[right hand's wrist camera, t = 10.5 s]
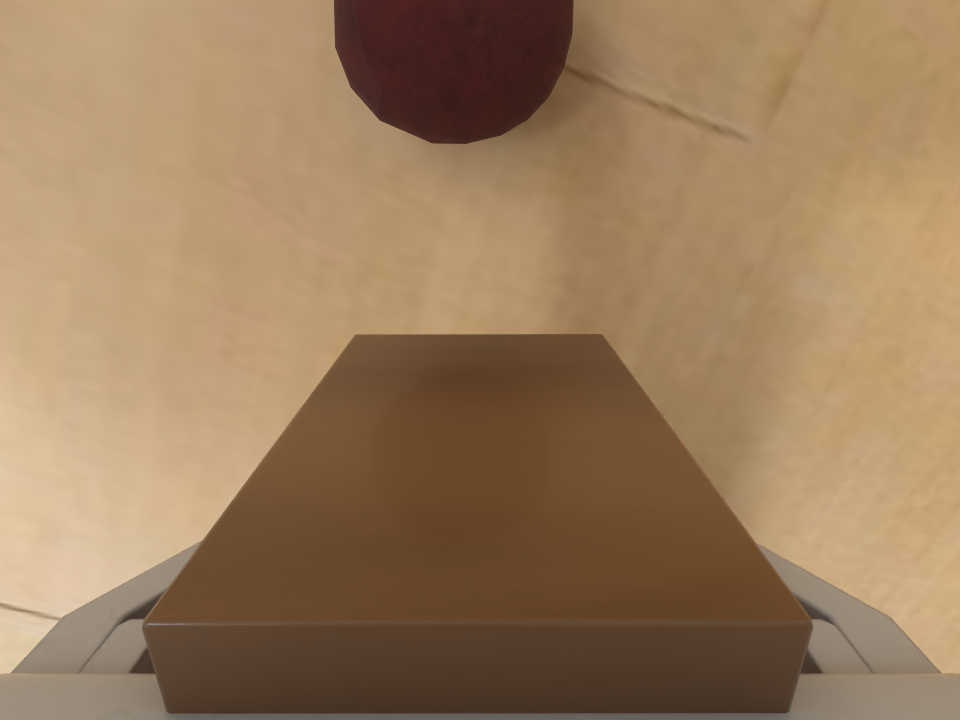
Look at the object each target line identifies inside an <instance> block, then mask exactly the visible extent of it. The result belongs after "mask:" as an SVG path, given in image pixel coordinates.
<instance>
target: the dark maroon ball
mask: <svg viewBox="0 0 960 720" xmlns="http://www.w3.org/2000/svg"><path fill="white" fill-rule="evenodd" d="M334 17H335V48H336V50H337V53H338V55H339V58H340V61H341V63H342V66H343V68H344V71H345V73H346V76H347V79H348V81H349V84H350V86H351V88H352V89H353V90H354V92H355V93H356V94H357V95H358V96H359V97H360V98H361V99H362V101H363V102H364V103H365V104H366V105H367V106H368V107H369V109H370V110H371V111H372V112H373V113H374V114H375V115H376V117H377V118H378V119H379V120H380V121H382V122H385V123H387V124H389V125H392V126H394V127H396V128H399V129H401V130H403V131H405V132H408V133H410V134H412V135H415V136H417V137H419V138H422V139H424V140H426V141H428V142H431V143H447V144H467V143H471V142H475V141H479V140H483V139H487V138H491V137H496V136H500V135H502V134H504V133H506V132H507V131H509V130H511V129H512V128H514V127H516V126H518V125H519V124H521V123H523V122H524V121H526V120H527V119H528V118H529V117H530V116H531V115H532V114H533V113H534V112H535V111H536V110H537V109H538V108H539V107H540V106H541V104H542V103H543V102H544V101H545V100H546V99H547V98H548V97H549V95H550V93H551V91H552V89H553V87H554V86H555V84H556V82H557V80H558V78H559V76H560V74H561V72H562V70H563V68H564V65H565V61H566V57H567V53H568V49H569V45H570V41H571V37H572V28H573V0H334Z"/></svg>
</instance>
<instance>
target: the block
mask: <svg viewBox="0 0 960 720" xmlns="http://www.w3.org/2000/svg"><path fill="white" fill-rule="evenodd" d="M142 631H143V634H144V637H145V641H146V644H147V648H148V651H149V654H150V658H151V661H152V665H153V668H154V672H155V675H156V678H157V682H158V685H159V689H160V692H161V695H162V699H163V702H164V706H165V709H166V712H168V713H170V714H458V713H787V712H789V711H790V708H791V704H792V701H793V697H794V694H795V690H796V687H797V683H798V680H799V676H800V673H801V669H802V666H803V662H804V659H805V655H806V652H807V648H808V645H809V641H810V638H811V634H812V631H813V623H812V620H811V618H810V616H809V615H808V614H807V612H806V611H805V610H804V608H803V607H802V605H801V604H800V603H799V601H798V600H797V599H796V597H795V596H794V595H793V593H792V592H791V590H790V589H789V588H788V586H787V585H786V584H785V582H784V581H783V580H782V578H781V577H780V575H779V574H778V573H777V571H776V570H775V569H774V567H773V566H772V565H771V563H770V562H769V561H768V559H767V558H766V556H765V555H764V554H763V552H762V551H761V550H760V548H759V547H758V546H757V544H756V543H755V541H754V540H753V539H752V537H751V536H750V535H749V533H748V532H747V531H746V529H745V528H744V526H743V525H742V524H741V522H740V521H739V520H738V518H737V517H736V516H735V514H734V513H733V511H732V510H731V509H730V507H729V506H728V505H727V503H726V502H725V501H724V499H723V498H722V497H721V495H720V494H719V492H718V491H717V490H716V488H715V487H714V486H713V484H712V483H711V482H710V480H709V479H708V477H707V476H706V475H705V473H704V472H703V471H702V469H701V468H700V467H699V465H698V464H697V462H696V461H695V460H694V458H693V457H692V456H691V454H690V453H689V452H688V450H687V449H686V447H685V446H684V445H683V443H682V442H681V441H680V439H679V438H678V437H677V435H676V434H675V433H674V431H673V430H672V428H671V427H670V426H669V424H668V423H667V422H666V420H665V419H664V418H663V416H662V415H661V413H660V412H659V411H658V409H657V408H656V407H655V405H654V404H653V403H652V401H651V400H650V398H649V397H648V396H647V394H646V393H645V392H644V390H643V389H642V388H641V386H640V385H639V383H638V382H637V381H636V379H635V378H634V377H633V375H632V374H631V373H630V371H629V370H628V369H627V367H626V366H625V364H624V363H623V362H622V360H621V359H620V358H619V356H618V355H617V354H616V352H615V351H614V349H613V348H612V347H611V345H610V344H609V343H608V341H607V340H606V339H605V337H604V336H603V335H601V334H498V335H355V336H354V337H353V339H352V340H351V341H350V343H349V344H348V345H347V347H346V348H345V349H344V351H343V352H342V353H341V355H340V356H339V357H338V359H337V360H336V361H335V363H334V364H333V366H332V367H331V368H330V370H329V371H328V372H327V374H326V375H325V376H324V378H323V379H322V380H321V382H320V383H319V384H318V386H317V387H316V388H315V390H314V391H313V392H312V394H311V395H310V397H309V398H308V399H307V401H306V402H305V403H304V405H303V406H302V407H301V409H300V410H299V411H298V413H297V414H296V415H295V417H294V418H293V419H292V421H291V422H290V423H289V425H288V426H287V428H286V429H285V430H284V432H283V433H282V434H281V436H280V437H279V438H278V440H277V441H276V442H275V444H274V445H273V446H272V448H271V449H270V450H269V452H268V453H267V455H266V456H265V457H264V459H263V460H262V461H261V463H260V464H259V465H258V467H257V468H256V469H255V471H254V472H253V473H252V475H251V476H250V477H249V479H248V480H247V481H246V483H245V484H244V486H243V487H242V488H241V490H240V491H239V492H238V494H237V495H236V496H235V498H234V499H233V500H232V502H231V503H230V504H229V506H228V507H227V508H226V510H225V511H224V512H223V514H222V515H221V517H220V518H219V519H218V521H217V522H216V523H215V525H214V526H213V527H212V529H211V530H210V531H209V533H208V534H207V535H206V537H205V538H204V539H203V541H202V542H201V544H200V545H199V546H198V548H197V549H196V550H195V552H194V553H193V554H192V556H191V557H190V558H189V560H188V561H187V562H186V564H185V565H184V566H183V568H182V569H181V570H180V572H179V573H178V575H177V576H176V577H175V579H174V580H173V581H172V583H171V584H170V585H169V587H168V588H167V589H166V591H165V592H164V593H163V595H162V596H161V597H160V599H159V600H158V601H157V603H156V604H155V606H154V607H153V608H152V610H151V611H150V612H149V614H148V615H147V616H146V618H145V619H144V622H143V625H142Z"/></svg>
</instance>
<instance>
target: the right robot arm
mask: <svg viewBox="0 0 960 720" xmlns="http://www.w3.org/2000/svg"><path fill="white" fill-rule="evenodd" d="M202 541H203V540H202ZM202 541H200V542H199V543H197V544H195V545H193V546H191V547H190V548H188V549H186V550H184V551H182V552H180V553H179V554H177V555H175V556H173V557H171V558H169V559H168V560H166V561H164V562H162V563H160V564H158V565H157V566H155V567H153V568H151V569H149V570H148V571H146V572H144V573H142V574H140V575H138V576H137V577H135V578H133V579H131V580H129V581H127V582H126V583H124V584H122V585H120V586H118V587H116V588H115V589H113V590H111V591H109V592H107V593H106V594H104V595H102V596H100V597H98V598H96V599H95V600H93V601H91V602H89V603H87V604H85V605H84V606H82V607H80V608H78V609H76V610H74V611H73V612H71V613H69V614H67V615H65V616H64V617H62V619H61V620H60V621H59V622H58V623H57V624H56V625H55V626H54V627H53V628H52V629H51V630H50V631H49V633H48V634H47V635H46V636H45V637H44V638H43V639H42V640H41V641H40V642H39V643H38V644H37V645H36V647H35V648H34V649H33V650H32V651H31V652H30V653H29V654H28V655H27V656H26V657H25V658H24V659H23V660H22V662H21V663H20V664H19V665H18V666H17V667H16V668H15V669H14V670H13V671H12V672H11V673H10V674H0V720H960V674H942V673H941V672H940V671H939V670H938V669H937V668H936V667H935V666H934V665H933V663H932V662H931V661H930V660H929V659H928V658H927V657H926V656H925V655H924V654H923V652H922V651H921V650H920V649H919V648H918V647H917V646H916V645H915V644H914V643H913V641H912V640H911V639H910V638H909V637H908V636H907V635H906V634H905V633H904V632H903V630H902V629H901V628H900V627H899V626H898V625H897V624H896V623H895V622H894V621H893V619H892V618H891V617H889V616H887V615H885V614H884V613H882V612H880V611H878V610H876V609H874V608H873V607H871V606H869V605H867V604H865V603H864V602H862V601H860V600H858V599H856V598H855V597H853V596H851V595H849V594H847V593H846V592H844V591H842V590H840V589H838V588H837V587H835V586H833V585H831V584H829V583H828V582H826V581H824V580H822V579H820V578H819V577H817V576H815V575H813V574H811V573H810V572H808V571H806V570H804V569H802V568H801V567H799V566H797V565H795V564H793V563H792V562H790V561H788V560H786V559H784V558H783V557H781V556H779V555H777V554H775V553H774V552H772V551H770V550H768V549H766V548H765V547H763V546H761V545H759V544H757V543H756V542H755V543H756V544H757V546H758V547H759V548H760V550H761V551H762V552H763V554H764V555H765V556H766V558H767V559H768V561H769V562H770V563H771V565H772V566H773V567H774V569H775V570H776V571H777V573H778V574H779V575H780V577H781V578H782V580H783V581H784V582H785V584H786V585H787V586H788V588H789V589H790V590H791V592H792V593H793V595H794V596H795V597H796V599H797V600H798V601H799V603H800V604H801V605H802V607H803V608H804V610H805V611H806V612H807V614H808V615H809V616H810V618H811V620H812V623H813V631H812V634H811V638H810V641H809V645H808V648H807V652H806V655H805V659H804V662H803V666H802V669H801V673H800V676H799V680H798V683H797V687H796V690H795V694H794V697H793V701H792V704H791V708H790V711H789V712H787V713H458V714H170V713H168V712H166V709H165V706H164V702H163V699H162V695H161V692H160V689H159V685H158V682H157V678H156V675H155V672H154V668H153V665H152V661H151V658H150V654H149V651H148V648H147V644H146V641H145V637H144V634H143V631H142V625H143V622H144V619H145V618H146V616H147V615H148V614H149V612H150V611H151V610H152V608H153V607H154V606H155V604H156V603H157V601H158V600H159V599H160V597H161V596H162V595H163V593H164V592H165V591H166V589H167V588H168V587H169V585H170V584H171V583H172V581H173V580H174V579H175V577H176V576H177V575H178V573H179V572H180V570H181V569H182V568H183V566H184V565H185V564H186V562H187V561H188V560H189V558H190V557H191V556H192V554H193V553H194V552H195V550H196V549H197V548H198V546H199V545H200V544H201V542H202Z"/></svg>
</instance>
